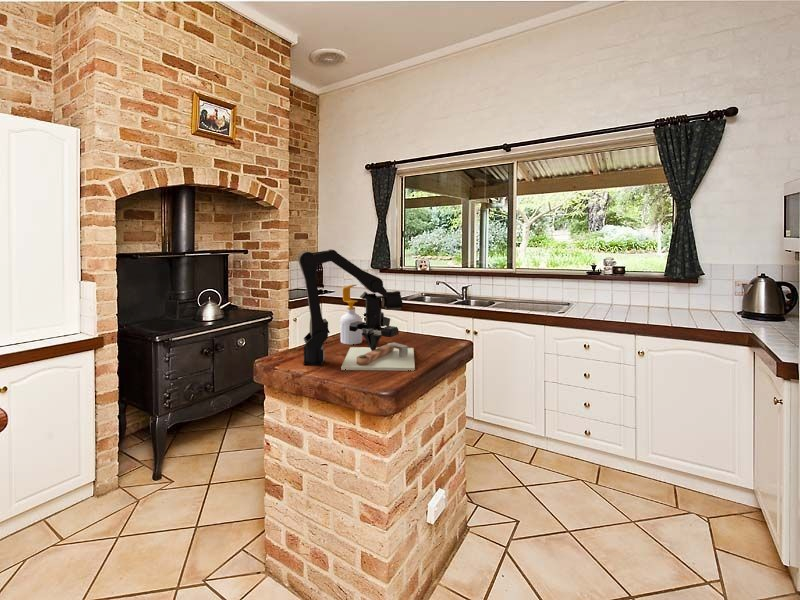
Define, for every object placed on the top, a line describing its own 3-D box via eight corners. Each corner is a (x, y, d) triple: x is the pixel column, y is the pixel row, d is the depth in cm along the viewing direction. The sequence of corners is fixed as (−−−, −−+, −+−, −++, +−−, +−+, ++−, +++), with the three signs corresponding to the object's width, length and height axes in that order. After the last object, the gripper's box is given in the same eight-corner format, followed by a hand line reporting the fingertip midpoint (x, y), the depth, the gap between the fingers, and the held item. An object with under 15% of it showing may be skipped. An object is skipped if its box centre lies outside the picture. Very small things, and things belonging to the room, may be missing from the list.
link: (364, 365, 154) (364, 358, 153) (354, 363, 156) (354, 356, 155) (395, 350, 173) (395, 344, 173) (385, 348, 175) (385, 342, 175)
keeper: (401, 360, 165) (401, 347, 164) (387, 355, 170) (387, 343, 170) (407, 358, 167) (407, 346, 166) (393, 354, 173) (393, 342, 172)
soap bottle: (352, 346, 184) (351, 286, 181) (336, 342, 190) (335, 284, 186) (366, 341, 191) (366, 284, 188) (350, 338, 197) (350, 282, 193)
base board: (341, 369, 153) (341, 367, 153) (350, 349, 179) (350, 347, 179) (414, 370, 153) (414, 367, 153) (413, 350, 178) (413, 347, 178)
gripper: (406, 309, 167) (406, 350, 170) (365, 304, 177) (365, 343, 179) (390, 314, 158) (390, 357, 160) (348, 308, 167) (348, 349, 170)
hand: (373, 351), depth 167 cm, fingers closed
